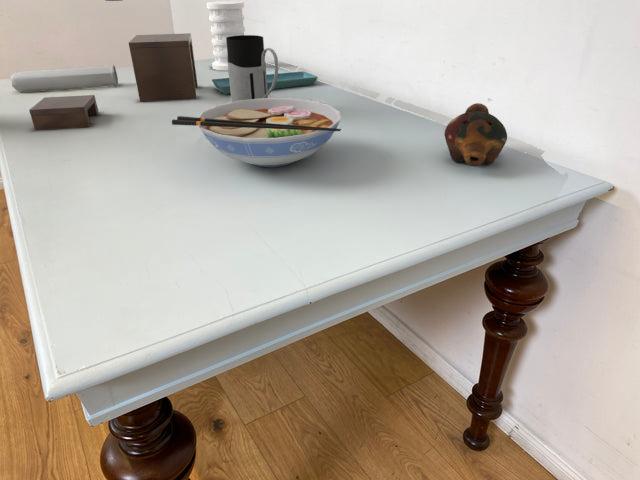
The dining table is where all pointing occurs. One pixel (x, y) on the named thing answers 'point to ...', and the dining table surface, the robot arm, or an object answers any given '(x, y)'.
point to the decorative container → (224, 28)
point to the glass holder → (248, 67)
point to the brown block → (164, 66)
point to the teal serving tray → (282, 81)
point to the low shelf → (63, 112)
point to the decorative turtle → (475, 136)
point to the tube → (64, 79)
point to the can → (112, 0)
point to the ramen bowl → (267, 129)
